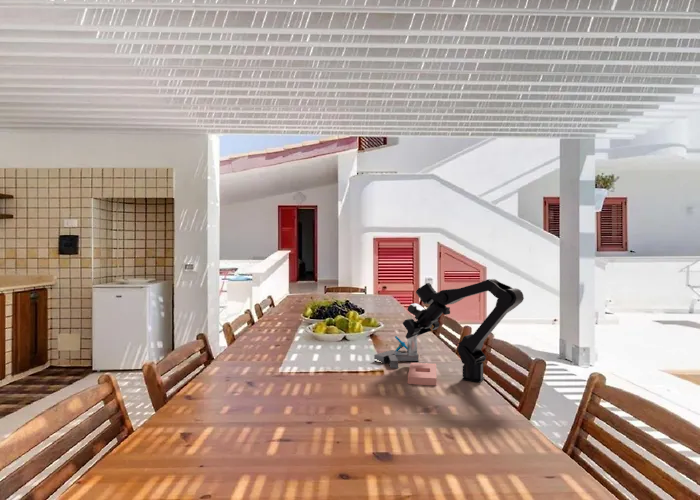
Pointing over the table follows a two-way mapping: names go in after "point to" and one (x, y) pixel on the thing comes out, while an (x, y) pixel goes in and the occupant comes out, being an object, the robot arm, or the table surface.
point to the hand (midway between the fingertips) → (409, 337)
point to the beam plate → (422, 374)
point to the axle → (412, 346)
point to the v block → (394, 357)
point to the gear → (400, 344)
